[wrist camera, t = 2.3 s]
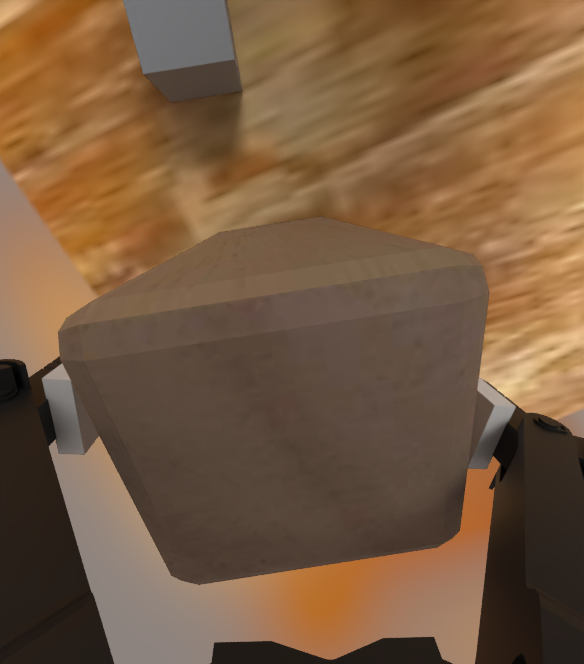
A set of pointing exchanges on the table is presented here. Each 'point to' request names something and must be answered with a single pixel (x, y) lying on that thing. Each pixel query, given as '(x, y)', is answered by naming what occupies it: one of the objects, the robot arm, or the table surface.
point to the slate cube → (185, 46)
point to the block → (288, 395)
